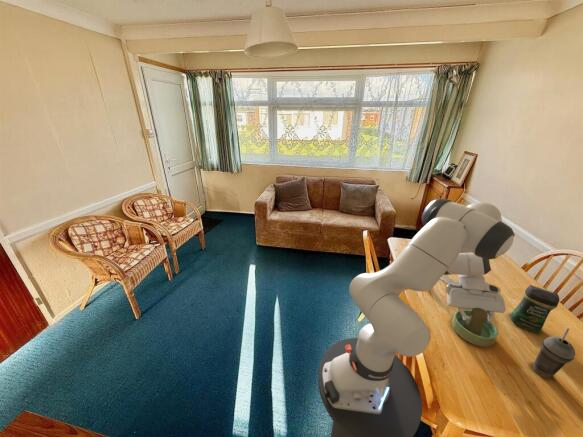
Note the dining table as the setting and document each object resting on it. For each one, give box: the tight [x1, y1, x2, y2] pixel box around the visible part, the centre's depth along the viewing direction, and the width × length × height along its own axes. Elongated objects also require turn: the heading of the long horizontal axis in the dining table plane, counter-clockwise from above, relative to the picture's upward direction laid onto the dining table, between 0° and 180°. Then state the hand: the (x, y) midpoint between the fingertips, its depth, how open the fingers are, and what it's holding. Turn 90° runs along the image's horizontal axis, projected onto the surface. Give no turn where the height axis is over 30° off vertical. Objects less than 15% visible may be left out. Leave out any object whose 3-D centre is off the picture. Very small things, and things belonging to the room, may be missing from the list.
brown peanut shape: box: [463, 308, 488, 336], centre depth 92 cm, size 6×6×11 cm
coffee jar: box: [510, 284, 560, 333], centre depth 94 cm, size 10×8×19 cm
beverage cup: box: [532, 327, 576, 379], centre depth 76 cm, size 7×7×20 cm
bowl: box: [451, 309, 499, 348], centre depth 93 cm, size 14×14×5 cm
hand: (477, 321), depth 91 cm, fingers open, 7 cm apart
